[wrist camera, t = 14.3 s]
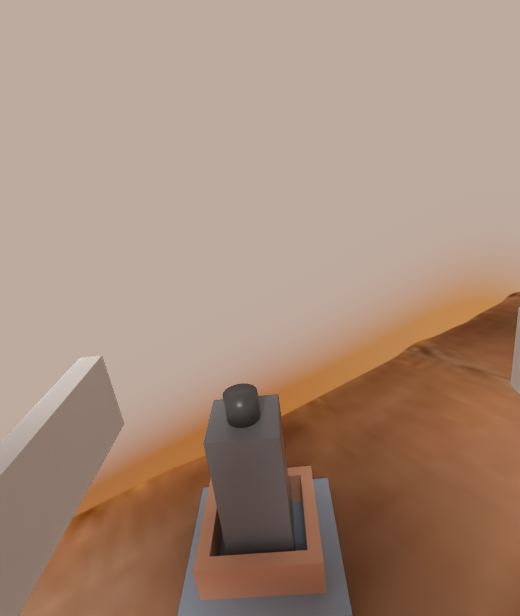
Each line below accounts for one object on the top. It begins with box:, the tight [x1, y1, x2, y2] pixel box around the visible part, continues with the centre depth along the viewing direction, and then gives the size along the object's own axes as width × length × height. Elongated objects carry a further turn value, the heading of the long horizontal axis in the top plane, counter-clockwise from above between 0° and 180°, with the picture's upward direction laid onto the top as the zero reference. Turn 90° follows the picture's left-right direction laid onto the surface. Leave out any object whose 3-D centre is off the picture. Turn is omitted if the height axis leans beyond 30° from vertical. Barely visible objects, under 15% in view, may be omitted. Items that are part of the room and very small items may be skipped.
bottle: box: [204, 384, 295, 555], centre depth 30 cm, size 5×5×14 cm
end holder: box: [177, 466, 352, 616], centre depth 32 cm, size 12×12×4 cm
